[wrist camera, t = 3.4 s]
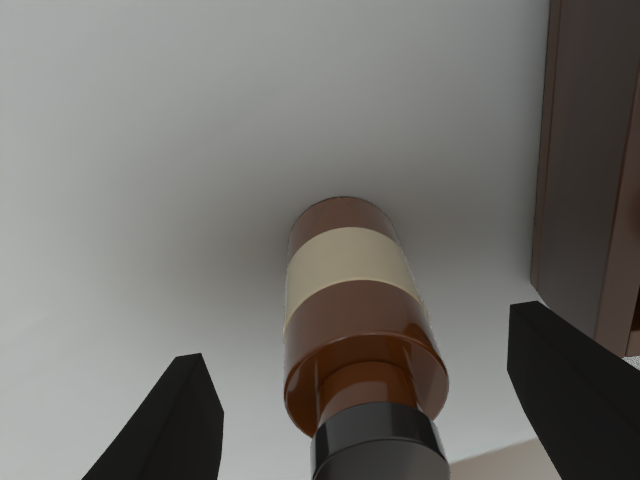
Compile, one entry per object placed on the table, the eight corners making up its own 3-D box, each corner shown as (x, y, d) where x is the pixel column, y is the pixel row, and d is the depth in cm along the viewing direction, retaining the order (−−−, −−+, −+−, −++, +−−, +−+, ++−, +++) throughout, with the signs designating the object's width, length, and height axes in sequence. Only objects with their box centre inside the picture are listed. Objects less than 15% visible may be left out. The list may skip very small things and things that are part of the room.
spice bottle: (392, 185, 15) (486, 398, 7) (401, 281, 17) (484, 528, 9) (276, 204, 15) (255, 431, 8) (297, 297, 17) (297, 553, 9)
